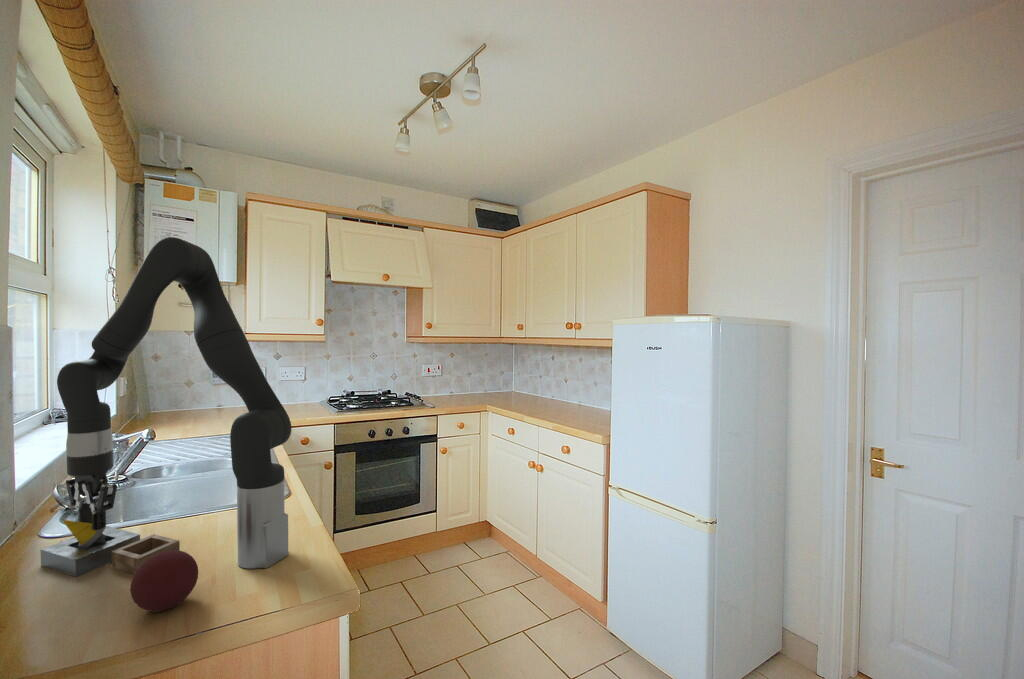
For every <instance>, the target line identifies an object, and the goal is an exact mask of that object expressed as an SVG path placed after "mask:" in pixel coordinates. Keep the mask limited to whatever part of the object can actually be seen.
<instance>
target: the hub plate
mask: <svg viewBox="0 0 1024 679" xmlns="http://www.w3.org/2000/svg"><path fill="white" fill-rule="evenodd" d="M103 534H104V535H106V538H105V541H106V542H104V543H99V542H93V543H92V544H91V545H90V546H88V547H86V548H82V547H80V546H79V542H78V540H77V539H76V538H75V537H74V536H73V537H72V538H69V539H65V540H63V541H61V542H57V543H55V544H52V545H49V546H46V547H44V548H41V549H40V566H42V567H45V568H48V569H51V570H55V571H57V572H59V573H63V574H66V575H68V576H69V575H70V576H73V577H75V578H76V577H79V576H81V575H83V574H86V573H88V572H90V571H93V570H95V569H98V568H100V567H103V566H105V565H107V564H109V563H112V554H111V551H114V550H116V549H119V548H121V547H124V546H126V545H129V544H131V543H134V542H136V541H139V540H141V534H140V533H135V532H132V531H128V530H124V529H121V528H116V527H112V526H108V525H106V528H105V530H104V531H103Z"/></svg>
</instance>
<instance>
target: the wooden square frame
mask: <svg viewBox="0 0 1024 679" xmlns="http://www.w3.org/2000/svg"><path fill="white" fill-rule="evenodd" d="M168 550H179V551H181V549H180V540H178V539H174V538H171V537H168V536H162V535H160V534H155V533H154V534H151V535H149V536H146V537H144V538H140V540H139V541H136V542H134V543H131V544H129V545H126V546H124V547H121V548H119V549H116V550H114V551H111V554H112V562H111V568H112V569H115V570H118V571H123V572H125V573H129V574H132V575H134V574H135V573H136V571H137V570H138V568H139V567H140V566H141V565H142V564H143V563H144V562H145V561H146V560H148V559H149V558H150V557H152V556H154V555H156V554H158V553H160V552H164V551H168Z"/></svg>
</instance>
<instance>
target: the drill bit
mask: <svg viewBox="0 0 1024 679" xmlns="http://www.w3.org/2000/svg"><path fill="white" fill-rule="evenodd" d="M62 522H63V523H64V525H65V527H66V528H67V530H69V531H70V532H71V534H72V535H73V538H74V537H75V538H76V539H77V540H78V542H79V546H80V547H82V548H86V547H88V546H90V545H91V544H92V543H93V542H99V543H104V542H106V541H105V538H106V535H104V534H103V531H104V530H105V528H106V526H107V525H106V526H105V527H104V528H102V529H99V530H93V529H92V523H91V524H90V523H85V522H78V521H77V520H67V519H64V520H63V519H62Z"/></svg>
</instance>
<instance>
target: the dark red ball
mask: <svg viewBox="0 0 1024 679" xmlns="http://www.w3.org/2000/svg"><path fill="white" fill-rule="evenodd" d="M198 578H199V567H198V564H197V562H196V560H195V558H194V556H192V555H190V554H189V553H187V552H186V551H182V550H180V551H179V550H168V551H164V552H160V553H158V554H156V555H154V556H152V557H150V558H149V559H148V560H146V561H145V562H144V563H143V564H142V565H141V566H140V567H139V568H138V570H137V571H136V573H135V574H133V576H132V580H131V583H130V588H129V590H130V596H131V599H132V601H133V602H134V604H136V606H137V607H138V608H140V609H142V610H144V611H149V612H162V611H165V610H168V609H172V608H174V607H176V606H177V605H179V604H181V603H182V602H183V601H184V600H185V599H187V597H188V596H189V595H190V594H191V593H192V591H193V590H194V588H195V587H196V584H197V582H198Z"/></svg>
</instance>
